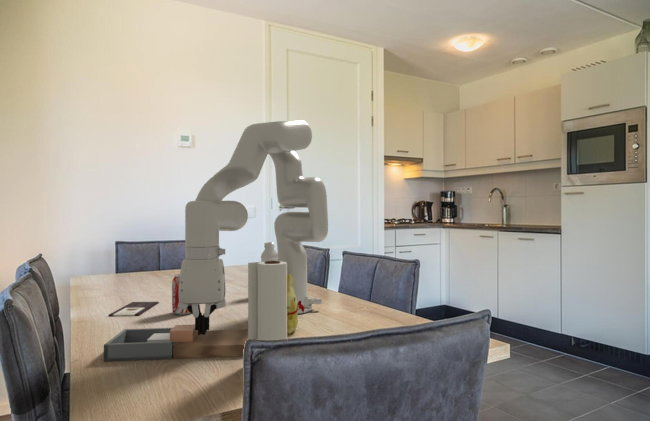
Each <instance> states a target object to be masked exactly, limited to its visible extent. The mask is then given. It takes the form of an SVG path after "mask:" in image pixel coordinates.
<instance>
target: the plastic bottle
mask: <svg viewBox="0 0 650 421" xmlns="http://www.w3.org/2000/svg"><path fill="white" fill-rule="evenodd" d="M263 245H264V248H263V249H264V250H263V251H262V252H261V255H260V262H266V261H278V251H276V249H275V242H273V241H271V242H270V241H269V242H264V244H263Z"/></svg>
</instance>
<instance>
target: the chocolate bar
mask: <svg viewBox="0 0 650 421" xmlns="http://www.w3.org/2000/svg"><path fill="white" fill-rule="evenodd" d="M159 303H160V302H159V301H132V302H130V303H128V304H126V305H124V306H122V307H120V308H118V309H116V310H114V311H113V312H111V313H110V314H108V317H140V316H141V315H143V314H144V313H146V312H147V311H149V310H150V309H152V308H153V307H156V306H157V305H158V304H159Z"/></svg>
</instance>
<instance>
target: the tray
mask: <svg viewBox="0 0 650 421" xmlns="http://www.w3.org/2000/svg"><path fill="white" fill-rule="evenodd" d="M172 328H173V327H153V328H152V327H151V328H146V327H145V328H124V329H123V330H121V331H120V332H118V333H117V334H116V335H115V336H114V337H112V338H111V339H109V340H108V341H107V342H106V343H104V344H103V362H118V361H119V362H120V361H121V362H122V361H146V360H150V361H151V360H169V359H173V347H174V346H175V345H174V346H173V341H169V342H147V339H149V338H150V337H151V336H152V335H153V334H155V333H170V330H171V329H172ZM176 343H177V342H176Z"/></svg>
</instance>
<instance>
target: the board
mask: <svg viewBox="0 0 650 421" xmlns="http://www.w3.org/2000/svg"><path fill="white" fill-rule="evenodd" d="M247 339H248V328H246V329H245V328H244V329H223V330H222V329H221V330H220V329H218V330H213V329H211V330H207V332H206V334H205V335H202V334H200V335H198V330H197V336H196V338H195V339H194V340H193V341H191V342H177V343H176V344H175V346H174V347H173V358H172V359H175V360H176V359H198V358H199V359H200V358H223V357H225V358H226V357H227V358H228V357H244V356H243V349H244V344H245V341H246V340H247Z"/></svg>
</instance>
